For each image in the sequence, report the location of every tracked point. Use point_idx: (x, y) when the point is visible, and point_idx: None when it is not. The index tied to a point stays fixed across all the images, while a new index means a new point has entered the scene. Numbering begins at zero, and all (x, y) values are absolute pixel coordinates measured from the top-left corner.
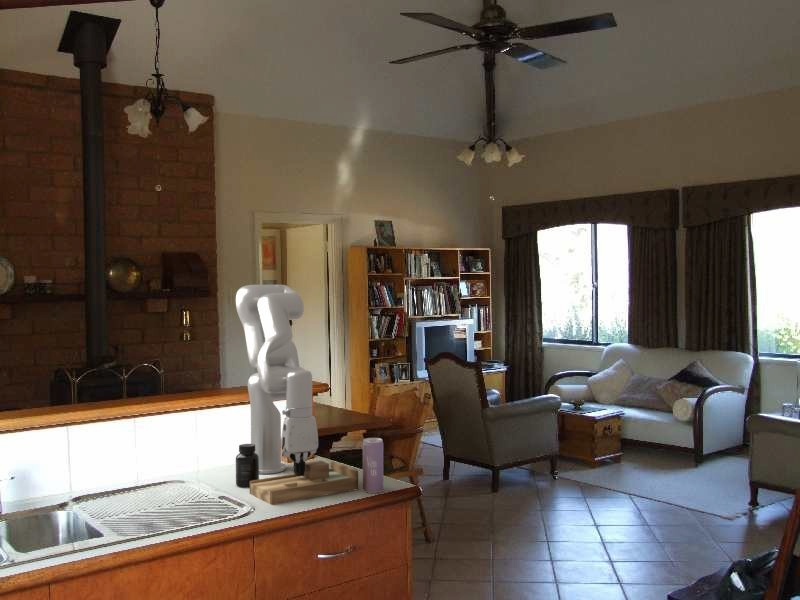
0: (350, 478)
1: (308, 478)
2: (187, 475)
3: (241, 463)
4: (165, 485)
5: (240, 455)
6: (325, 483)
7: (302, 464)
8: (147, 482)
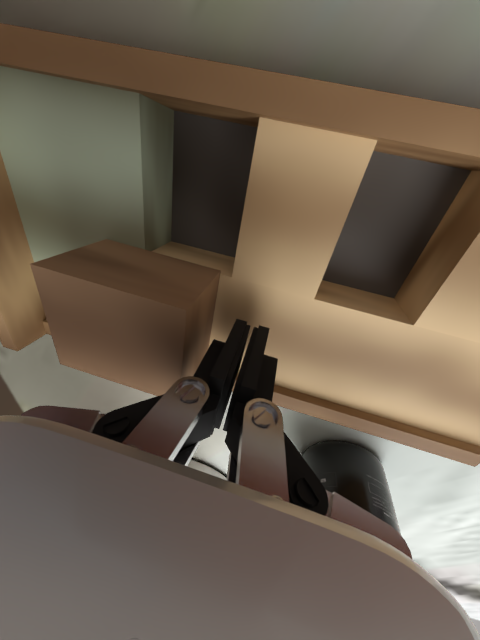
0: None
1: (215, 300)
2: None
3: None
4: (468, 578)
5: None
6: (221, 65)
7: (230, 371)
8: (459, 600)
